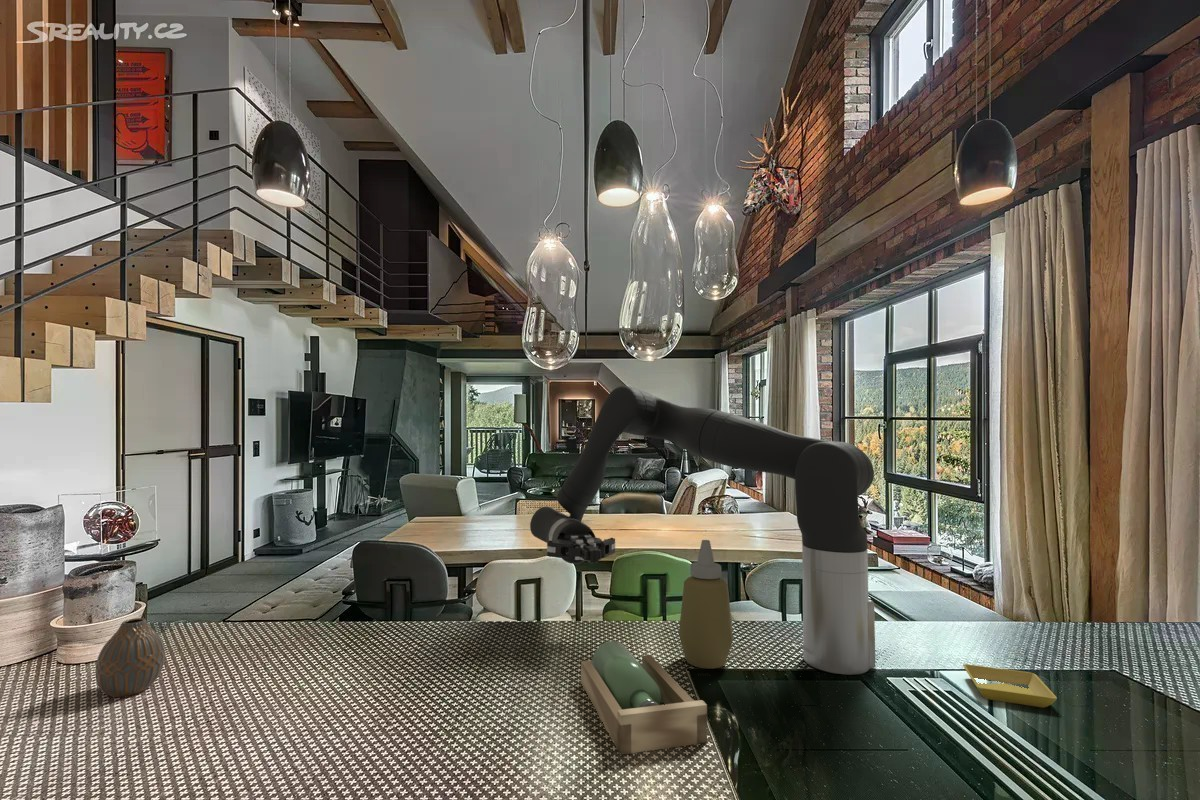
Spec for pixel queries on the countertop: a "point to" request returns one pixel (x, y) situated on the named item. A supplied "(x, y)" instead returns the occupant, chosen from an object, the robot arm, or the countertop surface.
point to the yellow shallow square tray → (1011, 686)
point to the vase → (130, 659)
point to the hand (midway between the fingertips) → (594, 556)
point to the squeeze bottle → (705, 613)
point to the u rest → (648, 713)
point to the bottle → (625, 676)
